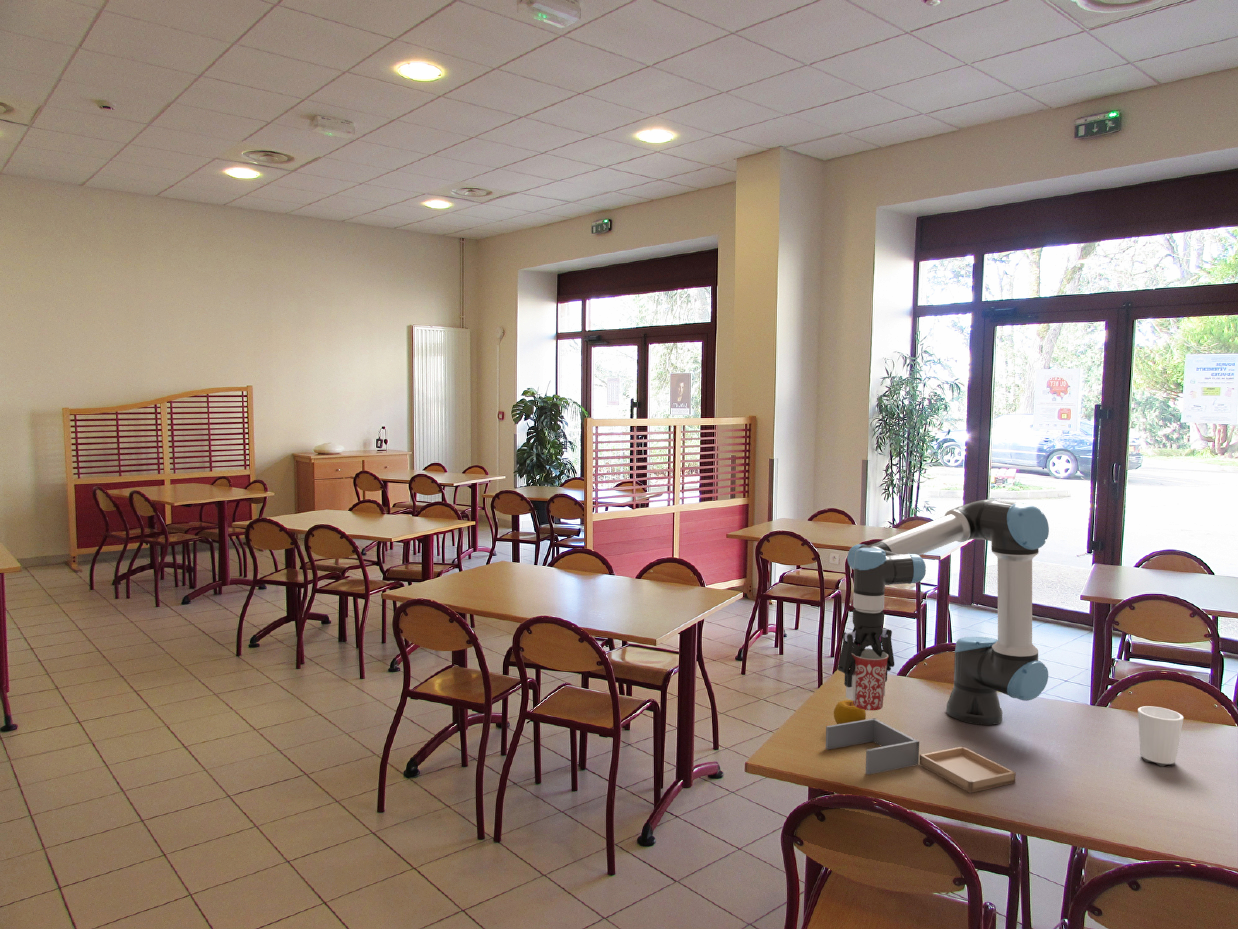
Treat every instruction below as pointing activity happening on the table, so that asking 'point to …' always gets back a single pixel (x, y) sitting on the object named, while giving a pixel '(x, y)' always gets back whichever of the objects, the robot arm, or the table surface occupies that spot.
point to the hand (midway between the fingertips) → (865, 696)
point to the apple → (848, 712)
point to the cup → (1159, 734)
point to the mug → (870, 679)
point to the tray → (967, 769)
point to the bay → (894, 743)
